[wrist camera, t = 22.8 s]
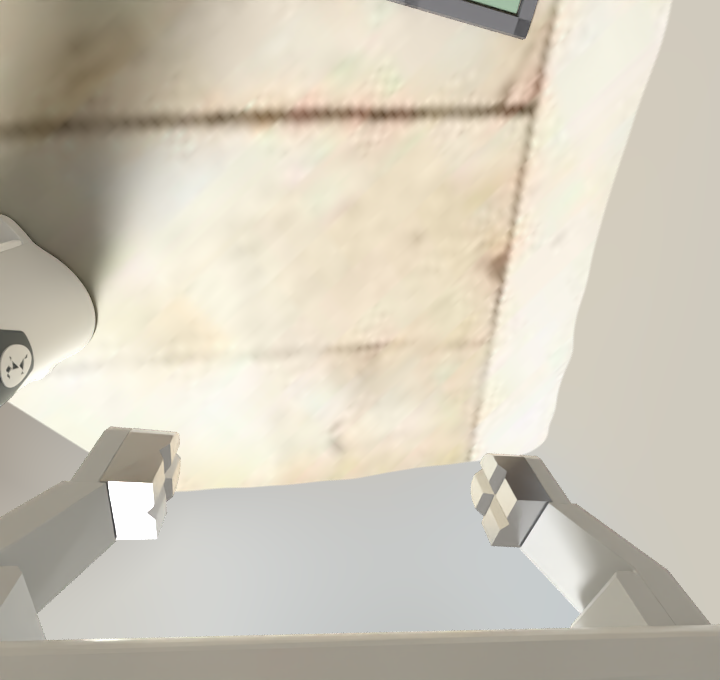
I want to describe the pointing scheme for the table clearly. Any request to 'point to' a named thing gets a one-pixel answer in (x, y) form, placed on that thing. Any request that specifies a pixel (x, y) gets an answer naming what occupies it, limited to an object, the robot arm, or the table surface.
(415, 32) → the table surface
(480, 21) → the game track
